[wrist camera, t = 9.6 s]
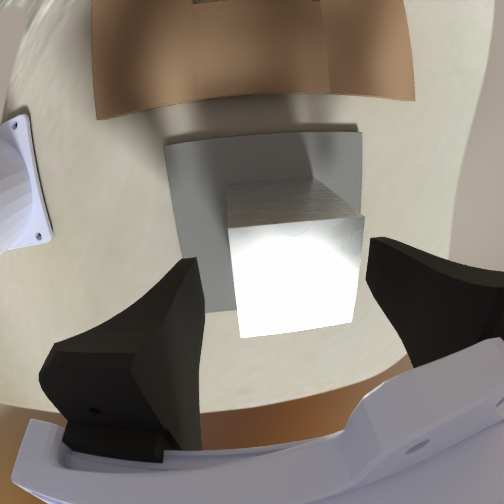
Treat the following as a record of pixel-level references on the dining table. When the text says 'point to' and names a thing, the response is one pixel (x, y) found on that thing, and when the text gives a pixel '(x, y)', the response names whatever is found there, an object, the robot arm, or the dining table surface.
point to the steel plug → (292, 255)
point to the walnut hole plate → (246, 51)
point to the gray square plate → (244, 170)
